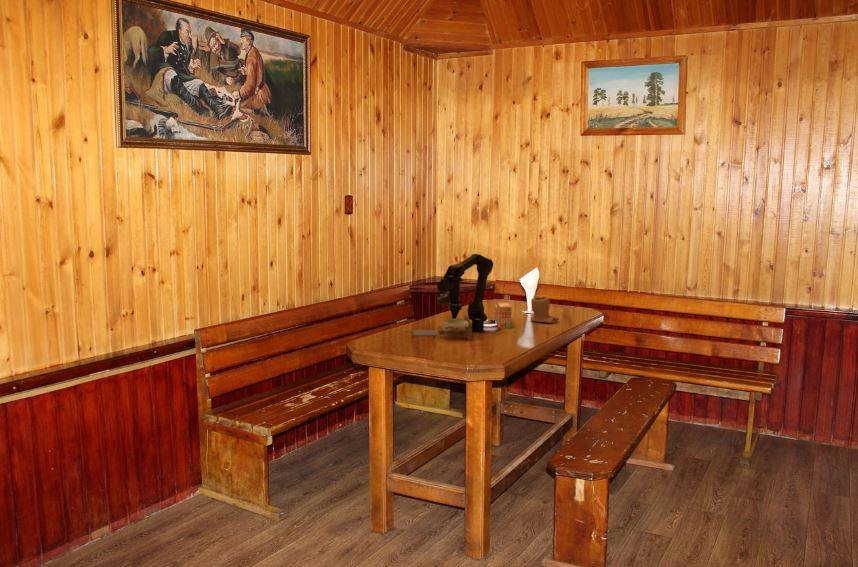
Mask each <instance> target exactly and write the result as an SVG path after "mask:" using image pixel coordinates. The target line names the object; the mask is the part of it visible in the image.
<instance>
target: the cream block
mask: <svg viewBox="0 0 858 567" xmlns="http://www.w3.org/2000/svg"><path fill="white" fill-rule="evenodd" d="M456 329H457V326H447V330H456Z"/></svg>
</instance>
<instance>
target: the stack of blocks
mask: <svg viewBox="0 0 858 567" xmlns="http://www.w3.org/2000/svg"><path fill="white" fill-rule="evenodd" d="M512 311H513V307H512V306H511V304H509V302H497V304H496V305H494V321H495V320H496V322H497V323H498V325H497V326H498V328H499V329H512V315H513V314H512ZM496 322H495V323H496Z"/></svg>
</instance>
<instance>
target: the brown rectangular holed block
mask: <svg viewBox="0 0 858 567" xmlns="http://www.w3.org/2000/svg"><path fill="white" fill-rule="evenodd" d="M463 318H464V321H468V323H469V326H457V329H456V330H447V326H445V325H438V326H437V331H438V335H440V336H441V335H443V336H444V335H452V336H453V335H455V336H456V335H458V336H459V335H460V336H461V335H462V336H466V338H467V340H468V341H473V340H472V338H473V336H472V335H473V332H472V320H470V319H469V317H468V314H467V313H466V314H464V317H463Z"/></svg>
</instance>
